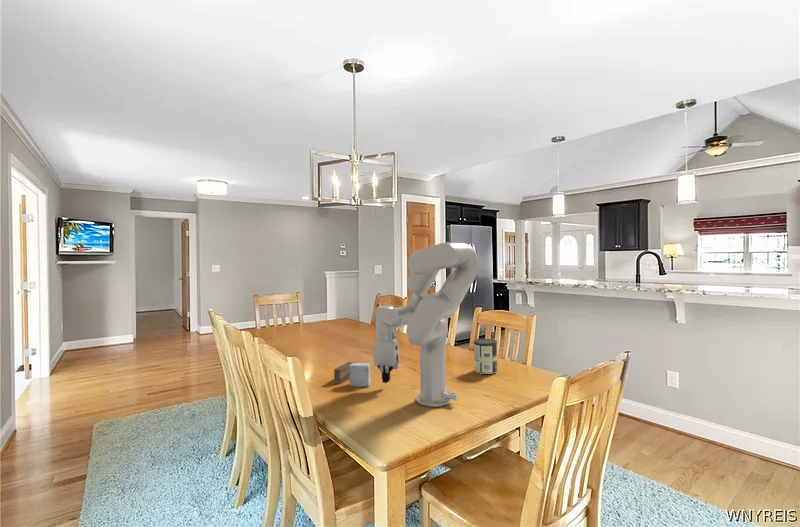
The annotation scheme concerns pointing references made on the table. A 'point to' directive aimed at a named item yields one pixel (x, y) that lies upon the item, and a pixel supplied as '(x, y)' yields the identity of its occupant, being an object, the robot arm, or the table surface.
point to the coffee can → (485, 356)
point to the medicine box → (360, 374)
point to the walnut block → (342, 373)
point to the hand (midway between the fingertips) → (386, 381)
